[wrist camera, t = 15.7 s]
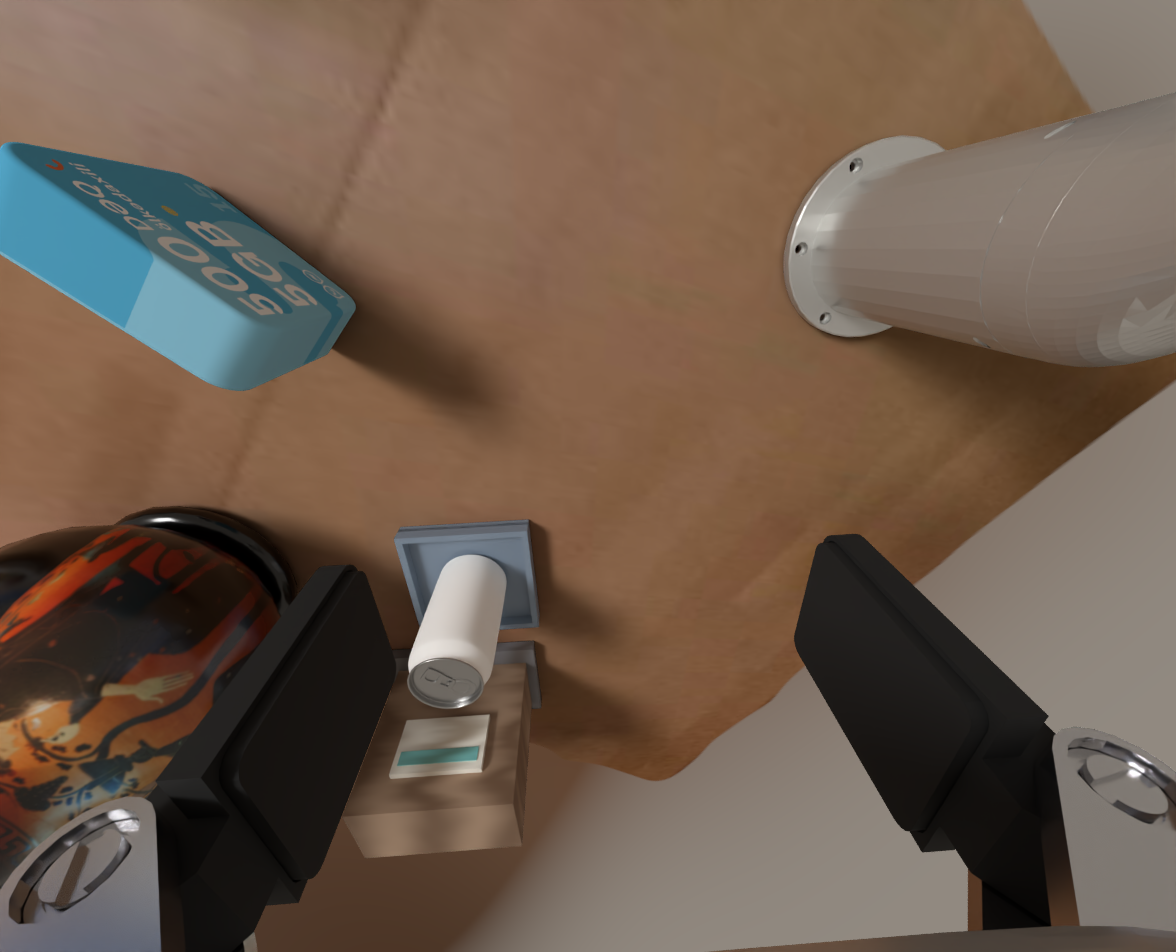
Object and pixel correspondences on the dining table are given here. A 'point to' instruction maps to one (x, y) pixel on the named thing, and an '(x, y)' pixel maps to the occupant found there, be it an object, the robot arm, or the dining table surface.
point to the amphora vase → (119, 656)
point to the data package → (167, 264)
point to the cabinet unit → (448, 765)
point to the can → (458, 634)
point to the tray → (495, 540)
